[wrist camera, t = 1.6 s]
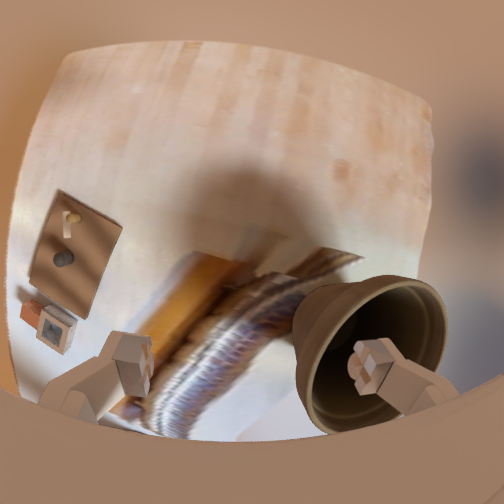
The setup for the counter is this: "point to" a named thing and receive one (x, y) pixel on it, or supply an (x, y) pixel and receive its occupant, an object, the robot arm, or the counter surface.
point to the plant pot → (358, 329)
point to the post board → (85, 252)
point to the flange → (49, 324)
